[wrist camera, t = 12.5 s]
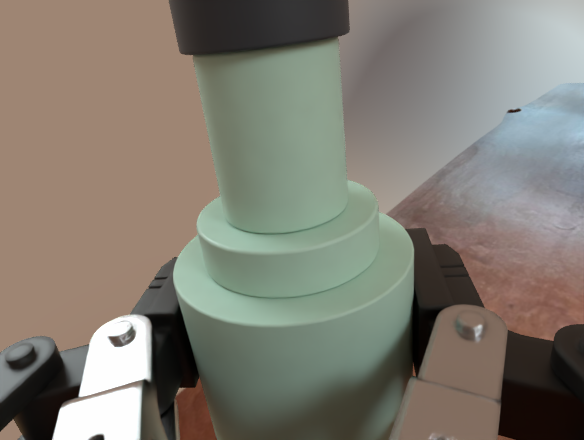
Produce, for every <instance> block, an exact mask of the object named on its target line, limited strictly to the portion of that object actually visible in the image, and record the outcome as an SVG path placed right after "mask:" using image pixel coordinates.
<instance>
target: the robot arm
mask: <svg viewBox="0 0 584 440" xmlns="http://www.w3.org/2000/svg"><path fill="white" fill-rule="evenodd" d="M405 230H406V231H407V233H408V235H409V236H410V238H411V240H412V243H413V247H414V308H413V364H414V369H415V373H416V377H415V376H412V377H411V378H410V380H409V382H408V385H407V387H406V390H405V393H404V396H403V399H402V402H401V405H400V408H399V411H398V414H397V417H396V420H395V423H394V426H393V429H392V432H391V435H390V438H389V440H497V438H498V435H501V436H505V437H508V438H512V439H515V440H584V324H576V325H569V326H565V327H563V328H561V329H560V330H558V331H557V333H556V334H555V337H554V341H550V340H545V339H539V338H534V337H529V336H524V335H520V334H517V333H514V332H512V331H509V330H507V326H506V324H505V322H504V321H503V320H502V319H501V317H499V316H498V315H497V314H495V313H494V312H492V311H490V310H488V309H485V307H484V305H483V303H482V301H481V299H480V297H479V295H478V293H477V291H476V289H475V287H474V284H473V282H472V280H471V278H470V277H469V274H468V272H467V270H466V268H465V267H464V264H463V262H462V260H461V257H460V255H459V253H457V252H456V251H455V250H453V249H452V248H450V247H449V246H448V245H446V244H439V245H432V244H431V241H430V239H429V236H428V234H427V231H426V229H425V228H414V229H405ZM177 258H178V257H174V258H173V259H172V260H170V261H169V262H168V263H166V264H165V265H164V266H162V267H161V269H160V270H159V272H158V273H157V275H156V276H155V279H154V280H153V281H152V282H151V284H150V285H149V289H147V290H146V291H145V292H144V294H143V295H142V297H141V298H140V300H139V301H138V303H137V304H136V306H135V307H134V309H133V310H132V312H131V313H130V315H127V316H122V317H119V318H117V319H114V320H112V321H110V322H108V323H106V324H105V325H103V326H102V327H101V328H99V329H98V330H97V331H96V332H95V334H94V335H93V336H92V338H91V341H90V344H88V345H85V346H81V347H77V348H73V349H68V350H65V351H61V352H59V351H58V348H57V346H56V344H55V342H54V340H53V339H51V338H50V337H45V336H38V337H32V338H28V339H25V340H22V341H19V342H17V343H15V344H13V345H11V346H9V347H8V348H6V349H4V350H3V351H2V352H0V431H1V430H2V429H3V428H4V427H5V426H6V425H7V424H8V423H9V422H10V421H12V419H14V421H15V423H16V424H17V426H18V428H19V430H20V432H21V433H22V435H21V437H20V438H19V439H18V440H180V432H179V415H178V405H177V401H176V398H175V396H176V394H177V392H178V389H179V388H195V387H196V384H197V381H198V379H199V373H198V369H197V366H196V362H195V358H194V355H193V351H192V348H191V344H190V340H189V337H188V333H187V330H186V326H185V322H184V319H183V315H182V312H181V308H180V304H179V301H178V297H177V294H176V290H175V286H174V283H173V271H174V266H175V263H176V261H177Z"/></svg>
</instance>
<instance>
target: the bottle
mask: <svg viewBox="0 0 584 440" xmlns="http://www.w3.org/2000/svg"><path fill="white" fill-rule="evenodd" d="M169 4H170V9H171V14H172V18H173V23H174V28H175V33H176V37H177V42H178V47H179V51H180V53H181V54H185V55H193V62H194V67H195V72H196V76H197V82H198V87H199V92H200V96H201V102H202V107H203V112H204V117H205V121H206V126H207V132H208V136H209V141H210V146H211V151H212V156H213V161H214V166H215V171H216V176H217V181H218V186H219V191H220V196H219V197H218V198H216V199H215V200H213V201H212V202H210V203H209V204H208V205H207V206H206V207H205V208H204V209H203V210H202V212H201V213H200V215H199V217H198V219H197V226H196V227H197V232H198V235H197V236H196V237H195V238H194V239H192V240H191V241H190V242H189V243H188V244H187V246H186V247H185V248H184V249H183V250H182V252H181V253H180V255H179V257H178V258H177V261H176V263H175V266H174V271H173V283H174V286H175V290H176V294H177V297H178V301H179V304H180V308H181V312H182V315H183V319H184V322H185V326H186V330H187V333H188V337H189V340H190V344H191V348H192V351H193V355H194V358H195V362H196V366H197V369H198V373H199V376H200V380H201V383H202V387H203V391H204V394H205V398H206V401H207V405H208V409H209V412H210V416H211V419H212V423H213V427H214V430H215V434H216V437H217V440H389V438H390V435H391V432H392V429H393V426H394V423H395V420H396V417H397V414H398V411H399V408H400V405H401V402H402V399H403V396H404V393H405V390H406V387H407V385H408V382H409V380H410V378H411V377H412V376H413V308H414V247H413V243H412V240H411V238H410V236H409V235H408V233H407V231H406V230H405V229H404V228H403V227H402V226H401V225H400V224H399V223H398V222H396V221H395V220H394V219H392V218H391V217H389V216H387V215H385V214H383V213H381V212H379V207H378V201H377V199H376V197H375V195H374V194H373V193H372V192H371V191H370V190H369V189H368V188H366V187H365V186H363V185H361V184H359V183H356V182H354V181H351V180H347V169H346V152H345V138H344V137H345V136H344V119H343V103H342V87H341V70H340V54H339V39H338V36H342V35H345V34H347V33H348V32H349V30H350V27H349V9H348V8H349V7H348V0H169Z"/></svg>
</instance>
